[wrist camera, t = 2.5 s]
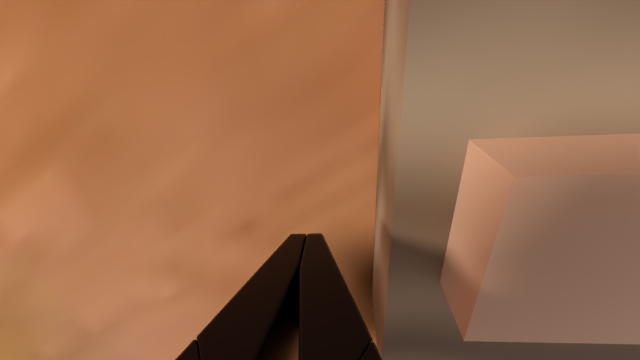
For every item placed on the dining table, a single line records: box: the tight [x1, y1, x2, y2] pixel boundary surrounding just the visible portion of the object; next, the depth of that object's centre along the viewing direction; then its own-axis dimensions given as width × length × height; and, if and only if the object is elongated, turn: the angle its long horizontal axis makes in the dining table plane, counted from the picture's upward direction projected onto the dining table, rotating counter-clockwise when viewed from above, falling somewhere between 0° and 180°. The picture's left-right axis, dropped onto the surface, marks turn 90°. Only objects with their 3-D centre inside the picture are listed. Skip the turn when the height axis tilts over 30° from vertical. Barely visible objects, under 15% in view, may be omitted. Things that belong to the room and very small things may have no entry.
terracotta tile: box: [440, 133, 640, 344], centre depth 7 cm, size 5×5×2 cm
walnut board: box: [372, 0, 640, 360], centre depth 9 cm, size 16×14×4 cm
